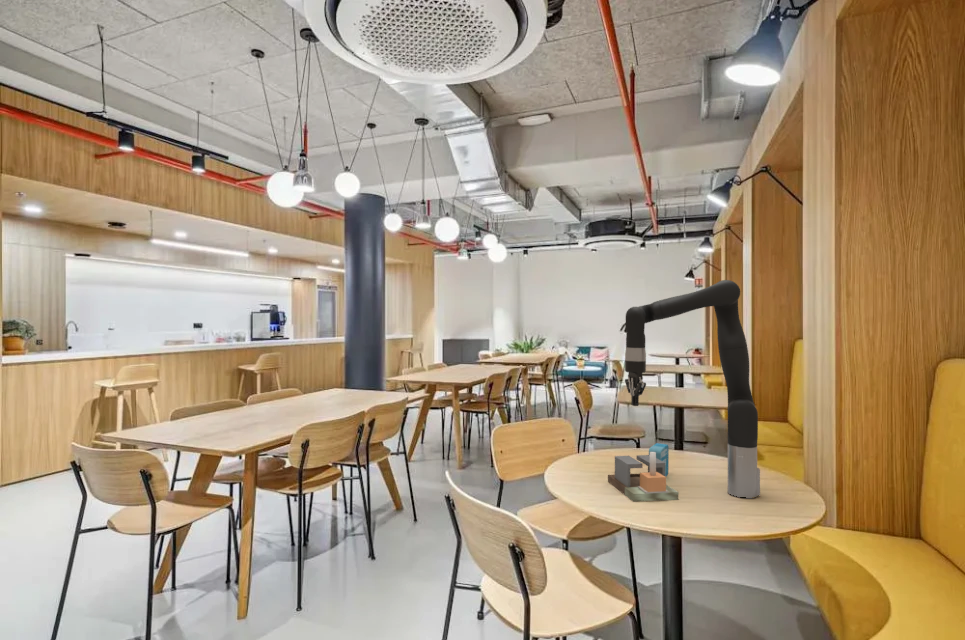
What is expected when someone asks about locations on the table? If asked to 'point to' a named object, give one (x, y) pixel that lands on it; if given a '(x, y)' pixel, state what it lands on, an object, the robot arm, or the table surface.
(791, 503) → the table surface
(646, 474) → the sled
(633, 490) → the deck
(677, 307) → the robot arm
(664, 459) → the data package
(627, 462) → the tunnel
